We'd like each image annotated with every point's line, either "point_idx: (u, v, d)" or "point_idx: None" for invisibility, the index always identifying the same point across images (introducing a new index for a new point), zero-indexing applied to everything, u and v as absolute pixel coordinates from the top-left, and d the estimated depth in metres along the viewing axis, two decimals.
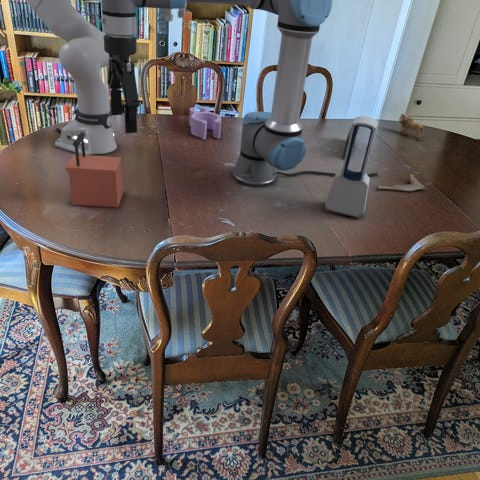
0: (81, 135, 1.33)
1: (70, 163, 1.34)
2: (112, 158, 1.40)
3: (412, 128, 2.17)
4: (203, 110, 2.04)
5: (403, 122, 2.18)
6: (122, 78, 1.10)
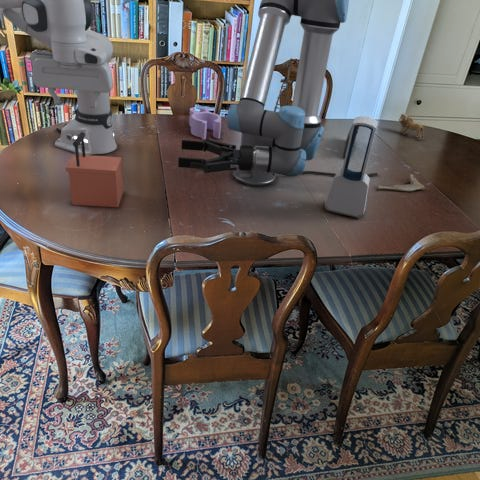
0: (81, 135, 1.33)
1: (70, 163, 1.34)
2: (112, 158, 1.40)
3: (412, 128, 2.17)
4: (203, 110, 2.04)
5: (403, 122, 2.18)
6: None
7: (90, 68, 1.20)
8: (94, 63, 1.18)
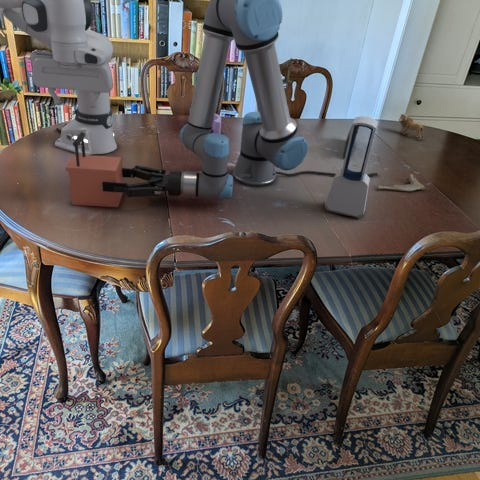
0: (81, 135, 1.33)
1: (70, 163, 1.34)
2: (112, 158, 1.40)
3: (412, 128, 2.17)
4: None
5: (403, 122, 2.18)
6: None
7: (90, 68, 1.20)
8: (94, 63, 1.18)
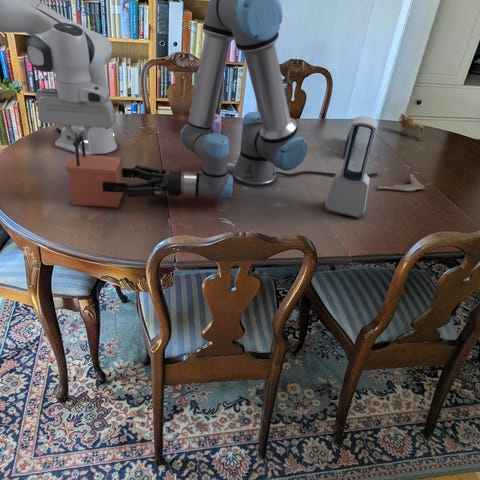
0: None
1: (70, 163, 1.34)
2: (112, 158, 1.40)
3: (412, 128, 2.17)
4: None
5: (403, 122, 2.18)
6: None
7: (93, 105, 1.25)
8: (97, 101, 1.24)
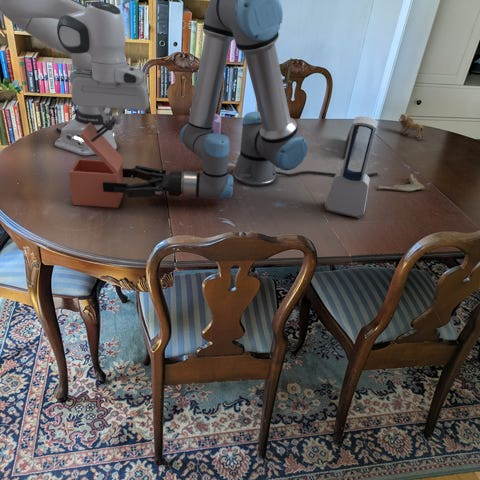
0: None
1: (86, 131, 1.29)
2: (117, 153, 1.39)
3: (412, 128, 2.17)
4: None
5: (403, 122, 2.18)
6: None
7: (128, 87, 1.22)
8: (133, 82, 1.21)
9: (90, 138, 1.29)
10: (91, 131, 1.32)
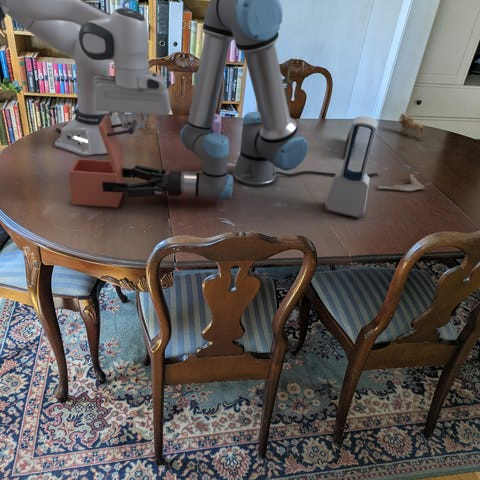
0: (136, 125, 1.32)
1: (105, 124, 1.28)
2: (120, 152, 1.39)
3: (412, 128, 2.17)
4: None
5: (403, 122, 2.18)
6: None
7: (151, 92, 1.23)
8: (156, 88, 1.22)
9: (106, 132, 1.29)
10: (108, 124, 1.31)
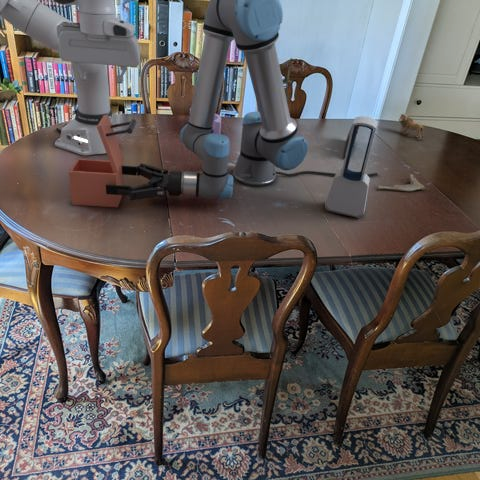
0: (134, 125, 1.32)
1: (103, 124, 1.28)
2: (120, 152, 1.39)
3: (412, 128, 2.17)
4: None
5: (403, 122, 2.18)
6: None
7: (118, 40, 1.16)
8: (123, 35, 1.15)
9: (105, 132, 1.29)
10: (107, 124, 1.31)
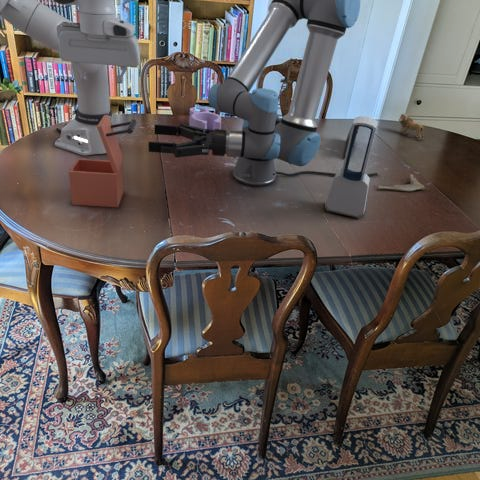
0: None
1: (104, 124, 1.28)
2: (120, 152, 1.39)
3: (412, 128, 2.17)
4: (203, 110, 2.04)
5: (403, 122, 2.18)
6: None
7: (118, 40, 1.16)
8: (123, 35, 1.15)
9: (105, 132, 1.29)
10: (107, 124, 1.31)
